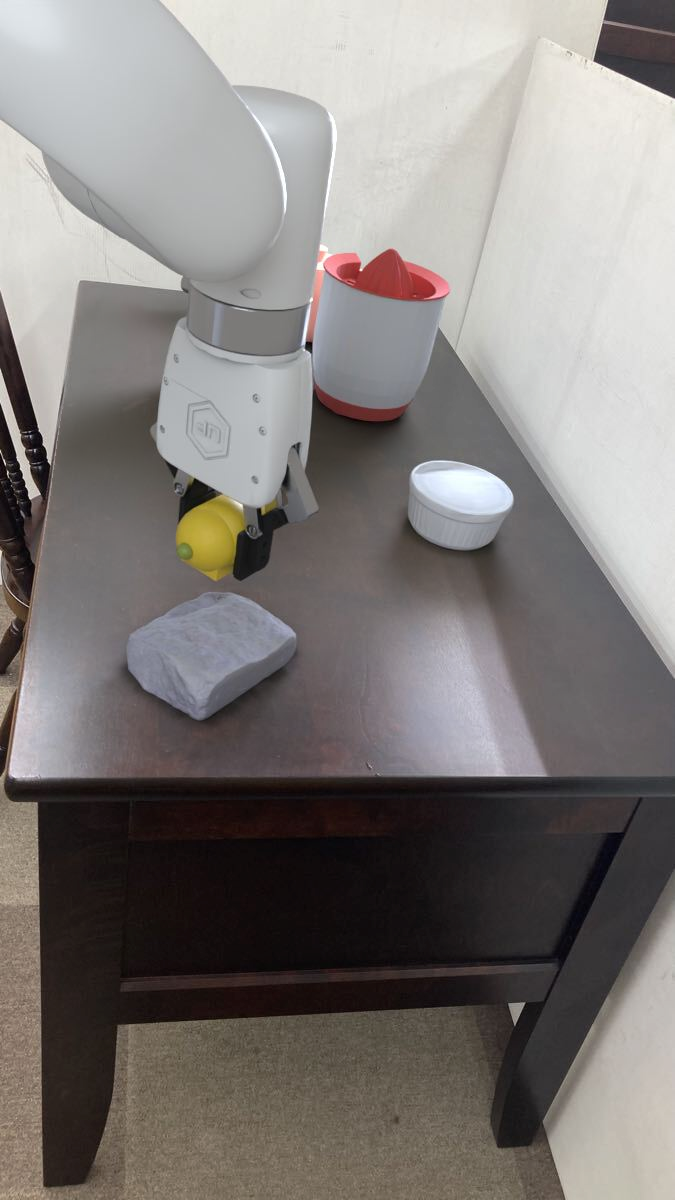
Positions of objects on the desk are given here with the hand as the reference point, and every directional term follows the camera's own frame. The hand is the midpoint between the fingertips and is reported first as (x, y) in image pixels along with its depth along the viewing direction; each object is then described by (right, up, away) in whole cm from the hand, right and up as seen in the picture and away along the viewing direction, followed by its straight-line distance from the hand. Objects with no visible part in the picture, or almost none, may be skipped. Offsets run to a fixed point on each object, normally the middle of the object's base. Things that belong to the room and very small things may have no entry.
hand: (221, 553), depth 66 cm
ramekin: (+21, +4, +30) cm, 37 cm away
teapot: (+3, +37, +69) cm, 78 cm away
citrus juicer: (+11, +23, +52) cm, 58 cm away
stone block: (-2, -9, +6) cm, 11 cm away
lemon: (0, 0, 0) cm, 0 cm away
